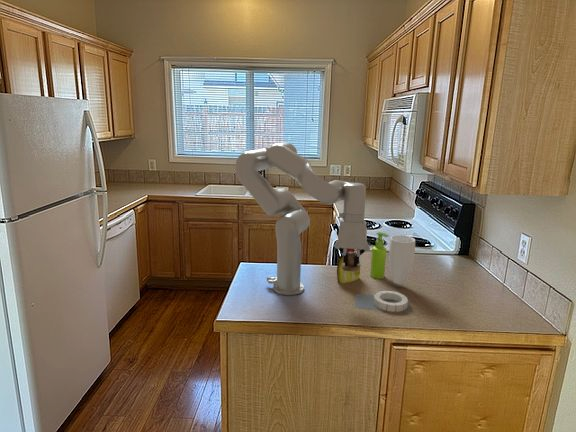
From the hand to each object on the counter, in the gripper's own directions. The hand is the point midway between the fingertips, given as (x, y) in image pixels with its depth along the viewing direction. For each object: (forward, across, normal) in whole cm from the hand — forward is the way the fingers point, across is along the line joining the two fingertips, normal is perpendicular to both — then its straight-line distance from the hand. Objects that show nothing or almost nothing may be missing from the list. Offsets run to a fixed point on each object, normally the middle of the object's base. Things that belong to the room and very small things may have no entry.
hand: (350, 264), depth 148 cm
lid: (+1, 0, 0) cm, 1 cm away
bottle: (+15, -2, +19) cm, 25 cm away
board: (+15, +12, 0) cm, 20 cm away
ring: (+14, +15, 0) cm, 21 cm away
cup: (+15, +19, +17) cm, 30 cm away
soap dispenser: (+15, +11, +28) cm, 34 cm away
